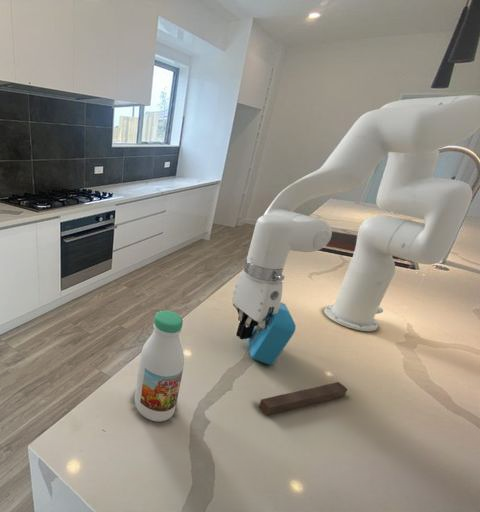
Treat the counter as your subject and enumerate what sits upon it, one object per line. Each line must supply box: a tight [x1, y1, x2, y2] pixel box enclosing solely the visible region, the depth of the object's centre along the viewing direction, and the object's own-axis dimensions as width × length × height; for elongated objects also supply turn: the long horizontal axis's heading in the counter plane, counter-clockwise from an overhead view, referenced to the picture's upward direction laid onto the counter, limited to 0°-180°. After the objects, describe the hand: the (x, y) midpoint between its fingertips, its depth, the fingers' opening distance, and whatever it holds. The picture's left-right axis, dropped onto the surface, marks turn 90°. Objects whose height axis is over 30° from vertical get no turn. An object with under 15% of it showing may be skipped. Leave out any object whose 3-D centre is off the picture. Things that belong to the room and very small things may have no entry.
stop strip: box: [258, 381, 349, 416], centre depth 59 cm, size 20×2×2 cm, turn 106°
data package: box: [246, 302, 296, 366], centre depth 71 cm, size 12×4×12 cm, turn 161°
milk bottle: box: [134, 310, 185, 422], centre depth 53 cm, size 8×8×20 cm
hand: (243, 336), depth 74 cm, fingers closed
